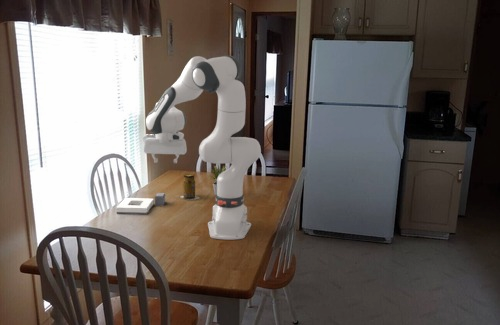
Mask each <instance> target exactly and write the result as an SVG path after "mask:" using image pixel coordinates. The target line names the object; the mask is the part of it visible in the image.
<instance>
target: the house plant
mask: <svg viewBox="0 0 500 325" xmlns="http://www.w3.org/2000/svg"><path fill="white" fill-rule="evenodd" d="M219 166H220V164H217V166H216V165H214V169H211V168H209V170H210V171H211V173H212V174H213V176H212V175H208V176H207V177H209V178H212V179H214V182H212V186H213V192H214V196H216V194H217V177H218V176H219V174H221V173H222V172H224V171H226V170H227V168H228V167H227V166H225V165H223V166H222V167H221V169H220V167H219Z"/></svg>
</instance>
